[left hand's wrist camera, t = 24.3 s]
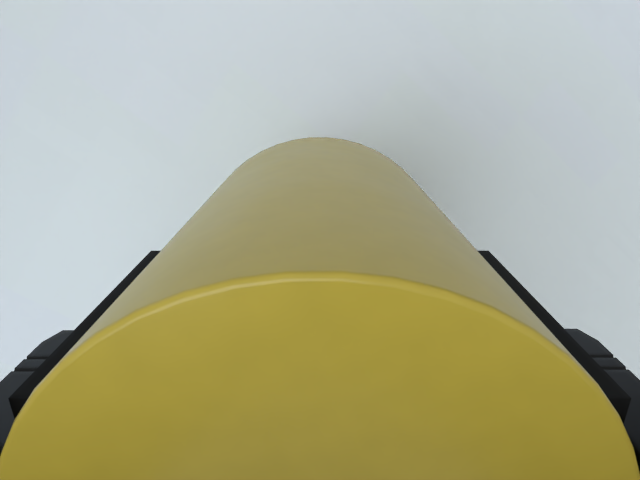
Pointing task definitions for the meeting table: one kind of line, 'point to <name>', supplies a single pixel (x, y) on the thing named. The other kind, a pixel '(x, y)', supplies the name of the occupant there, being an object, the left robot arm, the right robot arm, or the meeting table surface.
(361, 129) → the meeting table surface
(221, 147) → the meeting table surface
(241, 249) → the canister
